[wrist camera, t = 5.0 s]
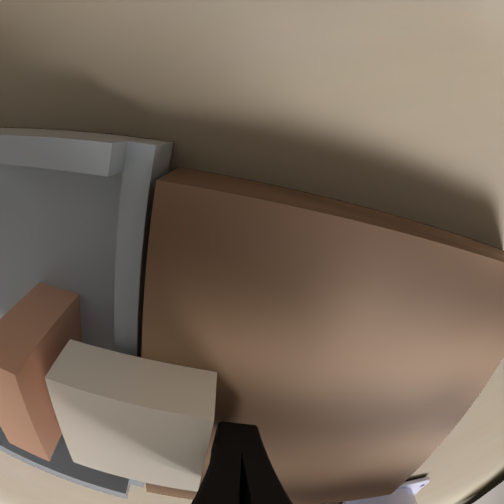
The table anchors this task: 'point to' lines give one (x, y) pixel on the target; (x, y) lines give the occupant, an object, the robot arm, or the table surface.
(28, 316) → the terracotta tile
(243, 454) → the robot arm
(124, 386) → the cream tile
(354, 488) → the walnut board
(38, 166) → the box
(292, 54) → the table surface
